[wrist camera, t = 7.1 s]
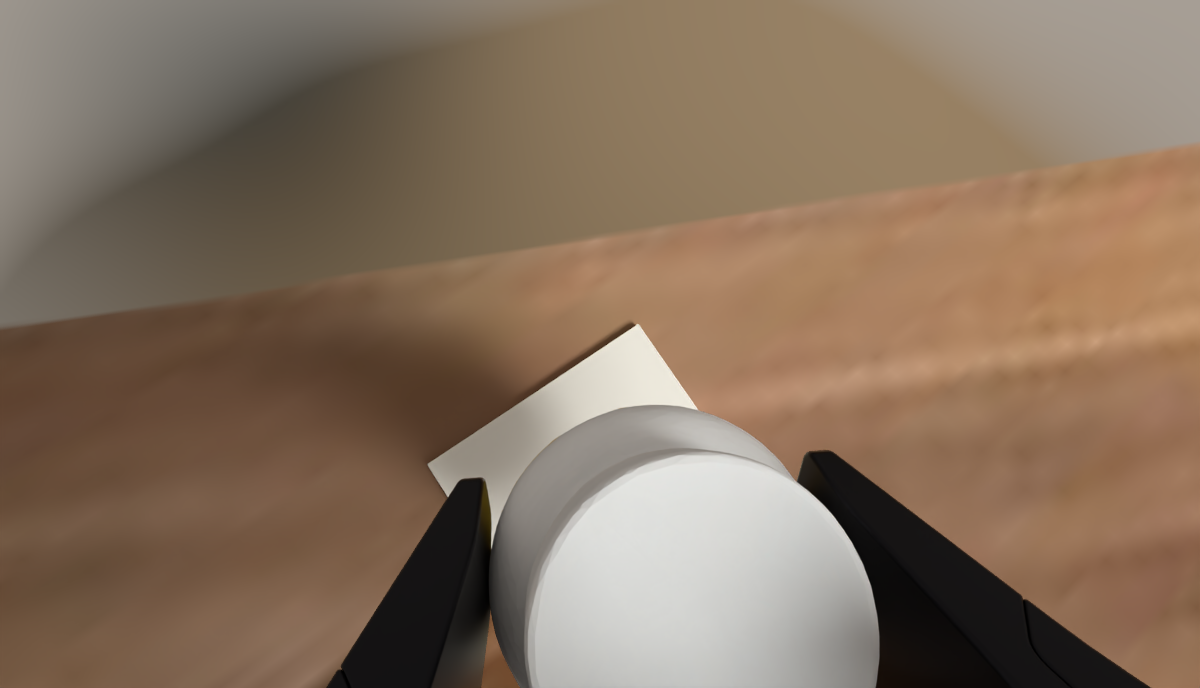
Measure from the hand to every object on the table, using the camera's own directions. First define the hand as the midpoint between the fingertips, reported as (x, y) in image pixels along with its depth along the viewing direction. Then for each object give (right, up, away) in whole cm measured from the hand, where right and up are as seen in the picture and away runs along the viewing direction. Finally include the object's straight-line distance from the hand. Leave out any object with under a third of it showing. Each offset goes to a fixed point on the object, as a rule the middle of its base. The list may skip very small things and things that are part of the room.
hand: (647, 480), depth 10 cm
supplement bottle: (0, -2, +6) cm, 7 cm away
